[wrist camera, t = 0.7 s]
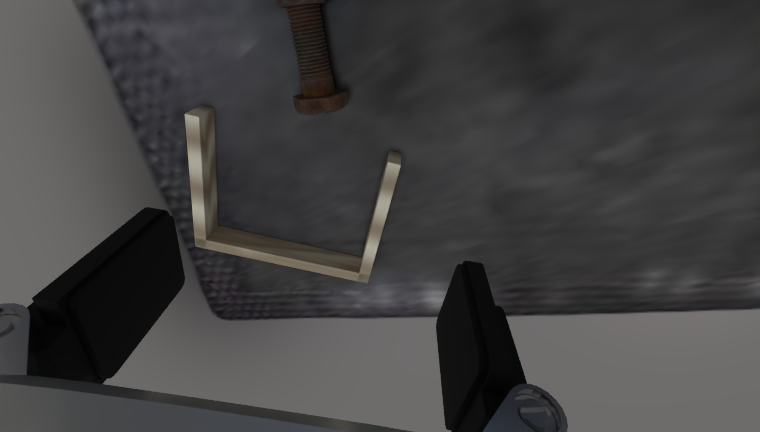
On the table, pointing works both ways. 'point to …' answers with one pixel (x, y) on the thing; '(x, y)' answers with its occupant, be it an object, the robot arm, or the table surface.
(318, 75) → the bolt
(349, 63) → the table surface
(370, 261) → the bay
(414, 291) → the table surface
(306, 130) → the table surface
